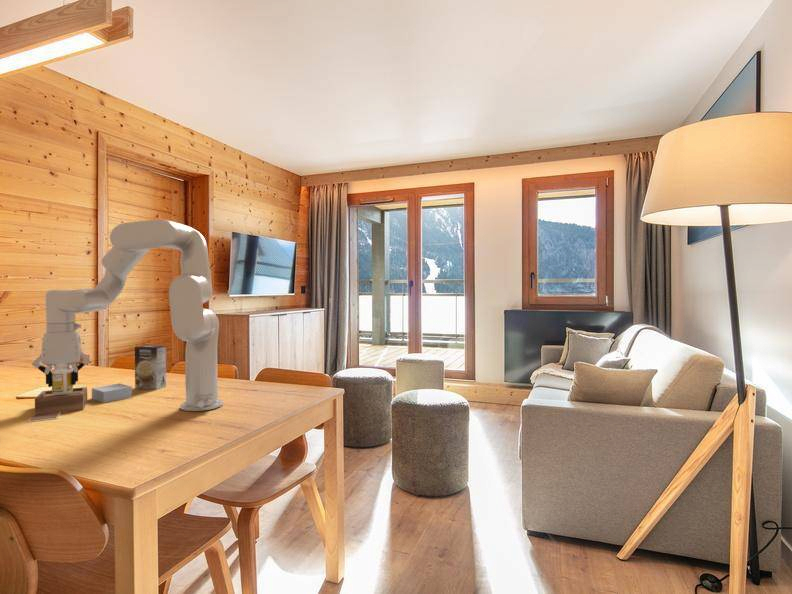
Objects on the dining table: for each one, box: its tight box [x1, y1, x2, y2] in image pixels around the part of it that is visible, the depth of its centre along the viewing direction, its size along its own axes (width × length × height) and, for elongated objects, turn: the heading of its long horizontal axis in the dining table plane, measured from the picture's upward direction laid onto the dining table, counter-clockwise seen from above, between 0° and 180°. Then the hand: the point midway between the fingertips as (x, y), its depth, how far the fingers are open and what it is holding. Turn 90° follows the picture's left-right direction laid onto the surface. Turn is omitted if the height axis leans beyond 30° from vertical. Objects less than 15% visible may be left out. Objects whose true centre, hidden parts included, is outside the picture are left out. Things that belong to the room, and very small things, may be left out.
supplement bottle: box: [51, 364, 74, 394], centre depth 144 cm, size 5×5×10 cm
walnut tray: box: [34, 386, 88, 414], centre depth 144 cm, size 12×12×5 cm
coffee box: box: [134, 344, 167, 391], centre depth 172 cm, size 9×6×16 cm
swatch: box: [27, 412, 62, 423], centre depth 134 cm, size 7×7×1 cm
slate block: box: [91, 382, 133, 404], centre depth 156 cm, size 9×9×4 cm
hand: (62, 384), depth 144 cm, fingers closed on supplement bottle, 5 cm apart
